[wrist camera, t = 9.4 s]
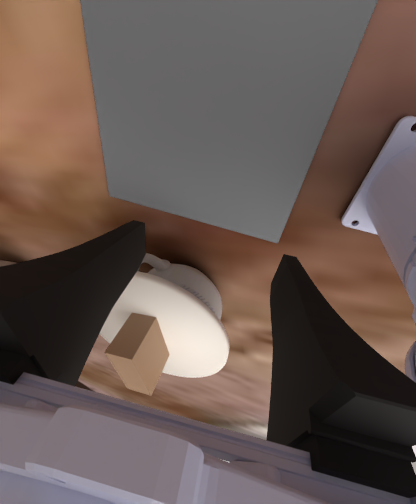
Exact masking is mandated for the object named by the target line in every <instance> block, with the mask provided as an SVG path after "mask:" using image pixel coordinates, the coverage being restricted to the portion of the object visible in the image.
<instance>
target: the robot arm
mask: <svg viewBox="0 0 416 504" xmlns="http://www.w3.org/2000/svg"><path fill="white" fill-rule="evenodd" d="M415 123H416V117H415V116H405V117H403V118H402V119H400V120H399V121H398V123H397V124H396V126H395V128H394V129H393V131H392V133H391V134H390V136H389V138H388V140H387V141H386V143H385V145H384V146H383V148H382V150H381V152H380V153H379V155H378V157H377V158H376V160H375V162H374V164H373V165H372V167H371V169H370V170H369V172H368V174H367V176H366V177H365V179H364V181H363V182H362V184H361V186H360V188H359V189H358V191H357V193H356V194H355V196H354V198H353V200H352V201H351V203H350V205H349V206H348V208H347V210H346V212H345V213H344V215H343V217H342V219H341V222H342V224H343V225H344V226H346V227H350V228H354V229H358V230H362V231H365V232H369V233H373V234H377V235H379V237H380V239H381V241H382V243H383V245H384V247H385V249H386V251H387V253H388V255H389V257H390V259H391V261H392V263H393V265H394V267H395V269H396V271H397V273H398V275H399V277H400V279H401V281H402V283H403V285H404V287H405V289H406V291H407V293H408V295H409V297H410V299H411V301H412V303H413V305H414V312H413V314H412V318H413V321H414V323H415V325H416V130H414V131H411V127H412V125H413V124H415ZM354 220H357V221H358V222H357V223H355V224H353V223H352V222H353V221H354ZM145 255H146V242H145V223H143V222H138V221H134V220H133V221H131V222H129V223H126V224H124V225H122V226H120V227H118V228H116V229H114V230H112V231H110V232H108V233H106V234H104V235H102V236H100V237H97V238H95V239H93V240H90V241H88V242H86V243H83V244H81V245H79V246H76V247H73V248H70V249H68V250H65V251H62V252H59V253H55V254H52V255H48V256H45V257H41V258H37V259H34V260H30V261H25V262H21V263H16V264H11V265H6V266H0V504H416V475H415V473H414V470H413V467H412V464H411V462H416V457H415V454H414V452H413V449H412V446H414V445H416V341H415V342H414V343H413V345H412V346H411V347H410V349H409V351H408V352H407V355H406V359H405V373H406V375H405V374H403V373H402V372H401V371H399V370H398V369H397V368H396V367H394V366H393V365H392V364H391V363H389V362H388V361H387V360H386V359H385V358H383V357H382V356H381V355H380V354H379V353H377V352H376V351H375V350H374V349H373V348H372V347H370V346H369V345H368V344H367V343H366V342H365V341H364V340H363V339H362V338H361V337H360V336H359V335H358V334H357V333H355V332H354V331H353V330H352V329H351V328H350V327H349V326H348V325H347V324H346V322H345V321H344V320H343V319H342V318H341V317H340V316H339V315H338V314H337V313H336V312H335V310H334V309H333V308H332V307H331V306H330V304H329V303H328V302H327V301H326V299H325V298H324V297H323V296H322V294H321V293H320V291H319V290H318V289H317V287H316V286H315V285H314V283H313V282H312V280H311V279H310V277H309V276H308V274H307V273H306V271H305V270H304V268H303V267H302V265H301V263H300V262H299V260H298V259H297V257H294V256H289V255H285V254H284V255H283V257H282V260H281V262H280V264H279V267H278V269H277V271H276V273H275V276H274V278H273V280H272V283H271V293H270V308H271V323H272V337H273V362H272V382H271V397H270V410H269V421H268V432H267V440H263V439H260V438H256V437H253V436H249V435H246V434H242V433H239V432H235V431H231V430H228V429H224V428H221V427H217V426H214V425H210V424H207V423H203V422H199V421H196V420H192V419H189V418H185V417H182V416H178V415H175V414H171V413H167V412H164V411H160V410H157V409H153V408H150V407H146V406H143V405H139V404H135V403H132V402H128V401H125V400H121V399H118V398H114V397H111V396H107V395H103V394H100V393H96V392H93V391H89V390H85V389H82V388H79V387H75V386H76V383H77V381H78V379H79V376H80V374H81V372H82V369H83V367H84V365H85V362H86V360H87V358H88V356H89V354H90V352H91V350H92V347H93V345H94V343H95V341H96V339H97V337H98V335H99V333H100V331H101V329H102V327H103V325H104V323H105V321H106V319H107V317H108V316H109V314H110V312H111V310H112V308H113V307H114V305H115V303H116V302H117V300H118V299H119V297H120V296H121V294H122V293H123V291H124V290H125V288H126V287H127V286H128V284H129V283H130V281H131V280H132V278H133V277H134V275H135V274H136V272H137V271H138V269H139V267H140V265H141V263H142V261H143V259H144V257H145ZM218 458H219V459H218ZM221 459H222V460H221ZM223 460H226V461H229V462H230V463H228V462H226V461H223Z"/></svg>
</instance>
